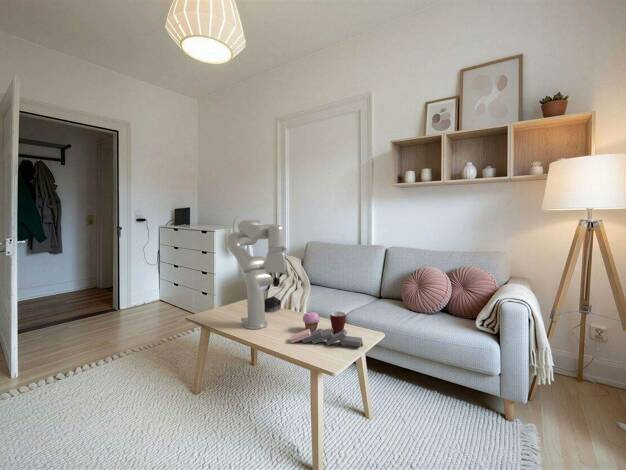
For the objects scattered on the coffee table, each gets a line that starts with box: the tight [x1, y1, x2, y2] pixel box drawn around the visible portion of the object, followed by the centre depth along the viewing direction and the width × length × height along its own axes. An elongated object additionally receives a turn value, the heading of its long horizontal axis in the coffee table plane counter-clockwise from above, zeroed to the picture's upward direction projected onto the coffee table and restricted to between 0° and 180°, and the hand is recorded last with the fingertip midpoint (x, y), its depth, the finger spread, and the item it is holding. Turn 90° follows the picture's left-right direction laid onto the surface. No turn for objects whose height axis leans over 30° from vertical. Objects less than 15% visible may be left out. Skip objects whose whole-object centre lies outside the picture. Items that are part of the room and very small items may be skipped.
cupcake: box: [302, 311, 320, 332], centre depth 166 cm, size 9×9×10 cm
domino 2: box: [311, 329, 334, 345], centre depth 151 cm, size 2×5×10 cm
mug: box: [329, 311, 347, 334], centre depth 164 cm, size 11×8×10 cm
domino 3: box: [325, 329, 348, 346], centre depth 148 cm, size 2×5×10 cm
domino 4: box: [338, 335, 363, 347], centre depth 147 cm, size 2×5×10 cm
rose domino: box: [289, 329, 311, 344], centre depth 152 cm, size 2×5×10 cm
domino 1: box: [301, 328, 324, 344], centre depth 151 cm, size 2×5×10 cm
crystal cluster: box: [264, 295, 282, 313], centre depth 202 cm, size 13×14×10 cm
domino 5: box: [341, 341, 364, 347], centre depth 149 cm, size 2×5×10 cm
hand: (276, 285), depth 154 cm, fingers closed
